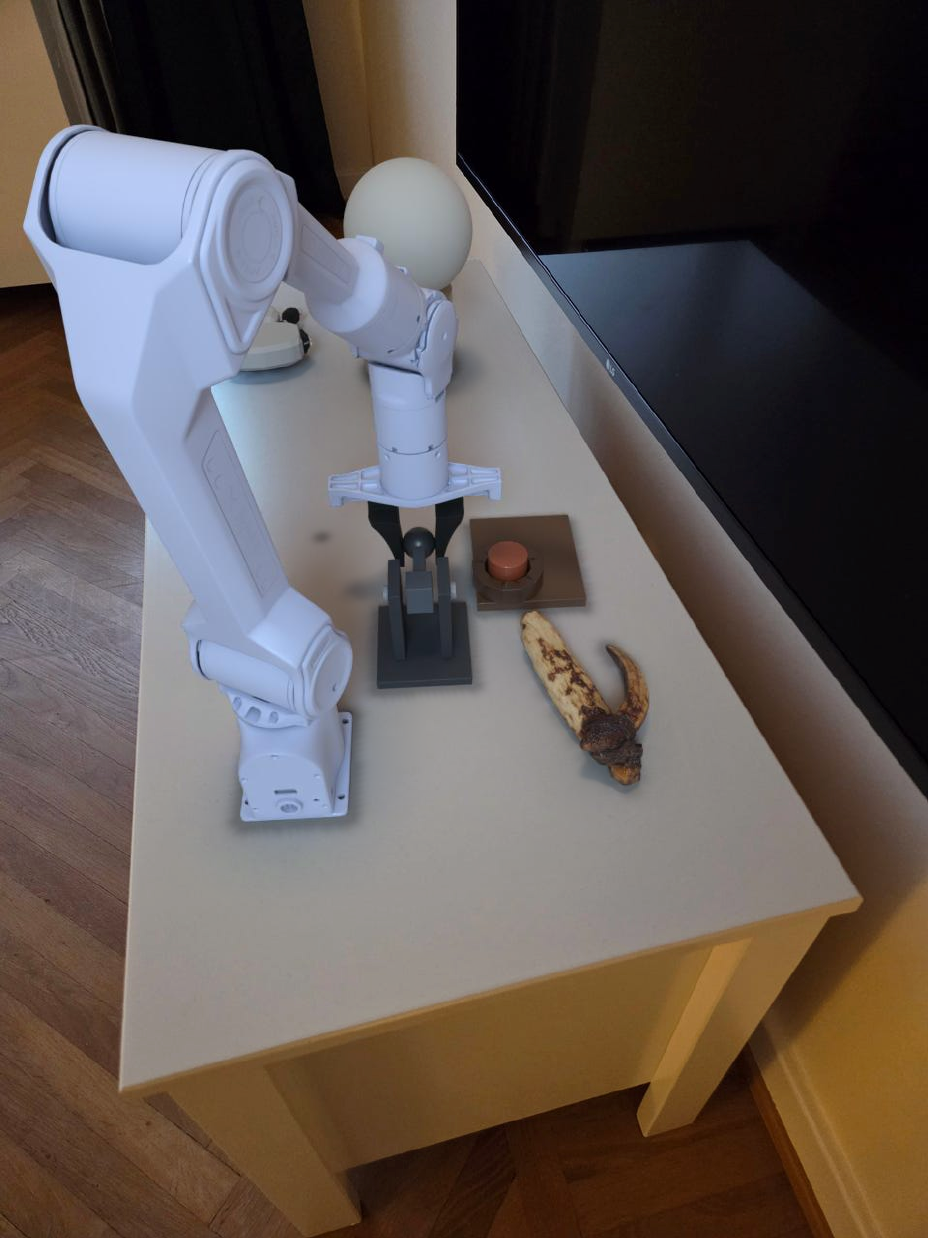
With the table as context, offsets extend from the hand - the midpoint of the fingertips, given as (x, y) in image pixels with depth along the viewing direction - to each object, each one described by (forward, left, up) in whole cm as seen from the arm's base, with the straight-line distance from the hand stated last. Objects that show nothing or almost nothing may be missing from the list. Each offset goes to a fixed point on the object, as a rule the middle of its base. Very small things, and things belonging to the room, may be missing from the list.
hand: (420, 559), depth 77 cm
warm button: (-1, -8, -1) cm, 8 cm away
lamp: (+38, 0, -4) cm, 38 cm away
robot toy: (+45, +20, -1) cm, 49 cm away
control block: (+2, -10, -3) cm, 11 cm away
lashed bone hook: (-14, -14, -4) cm, 20 cm away
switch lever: (-4, 0, +1) cm, 4 cm away
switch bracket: (-8, 0, -3) cm, 9 cm away
